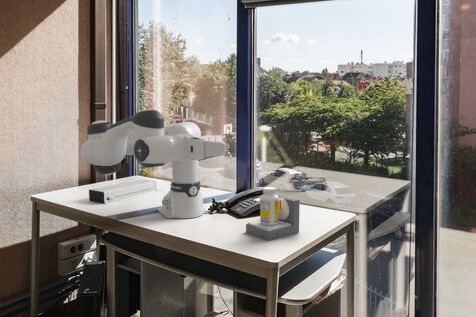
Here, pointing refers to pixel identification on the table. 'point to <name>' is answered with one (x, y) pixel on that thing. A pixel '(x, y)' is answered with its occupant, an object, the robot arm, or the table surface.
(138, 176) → the table surface
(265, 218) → the supplement bottle
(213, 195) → the table surface
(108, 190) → the laminator
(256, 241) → the table surface
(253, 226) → the dial scale
